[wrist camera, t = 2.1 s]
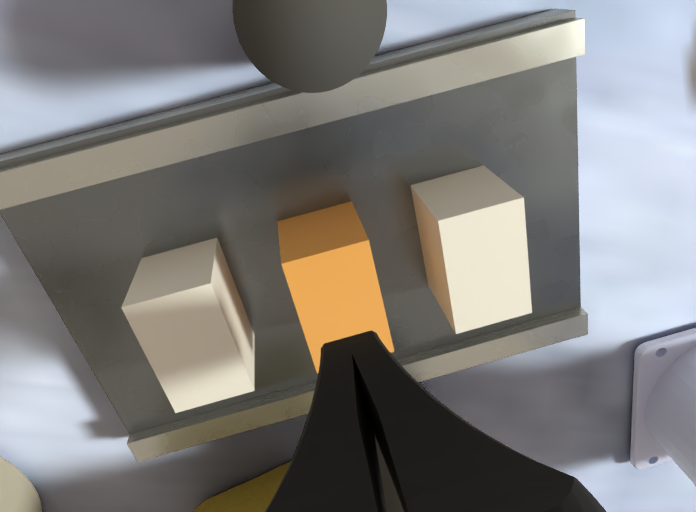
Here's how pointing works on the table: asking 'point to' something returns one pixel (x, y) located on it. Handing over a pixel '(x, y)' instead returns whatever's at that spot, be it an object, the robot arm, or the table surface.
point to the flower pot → (247, 494)
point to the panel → (304, 197)
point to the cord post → (310, 39)
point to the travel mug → (16, 490)
